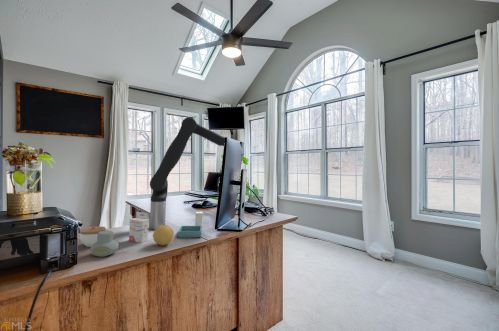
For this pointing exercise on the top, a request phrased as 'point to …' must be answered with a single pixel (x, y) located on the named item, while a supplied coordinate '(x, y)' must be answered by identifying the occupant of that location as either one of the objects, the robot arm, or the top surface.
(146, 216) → the ink cartridge box
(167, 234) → the stress ball
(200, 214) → the stop block
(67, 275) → the top surface
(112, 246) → the air freshener
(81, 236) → the lidded jar
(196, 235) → the tray
